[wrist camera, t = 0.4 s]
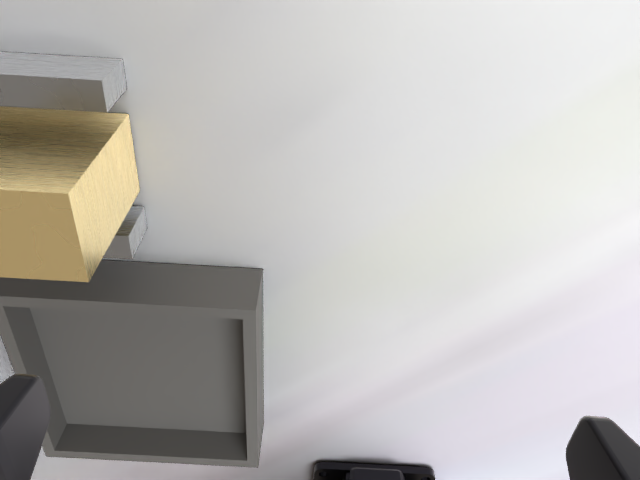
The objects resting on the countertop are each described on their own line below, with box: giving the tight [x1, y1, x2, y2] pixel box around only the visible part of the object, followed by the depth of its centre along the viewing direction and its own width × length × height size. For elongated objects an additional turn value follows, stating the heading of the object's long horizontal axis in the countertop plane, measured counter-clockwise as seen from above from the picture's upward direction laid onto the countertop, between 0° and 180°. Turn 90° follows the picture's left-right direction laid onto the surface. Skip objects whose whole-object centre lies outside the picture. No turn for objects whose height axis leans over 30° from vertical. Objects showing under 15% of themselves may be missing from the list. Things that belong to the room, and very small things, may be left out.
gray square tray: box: [0, 260, 264, 468], centre depth 25 cm, size 10×10×2 cm
